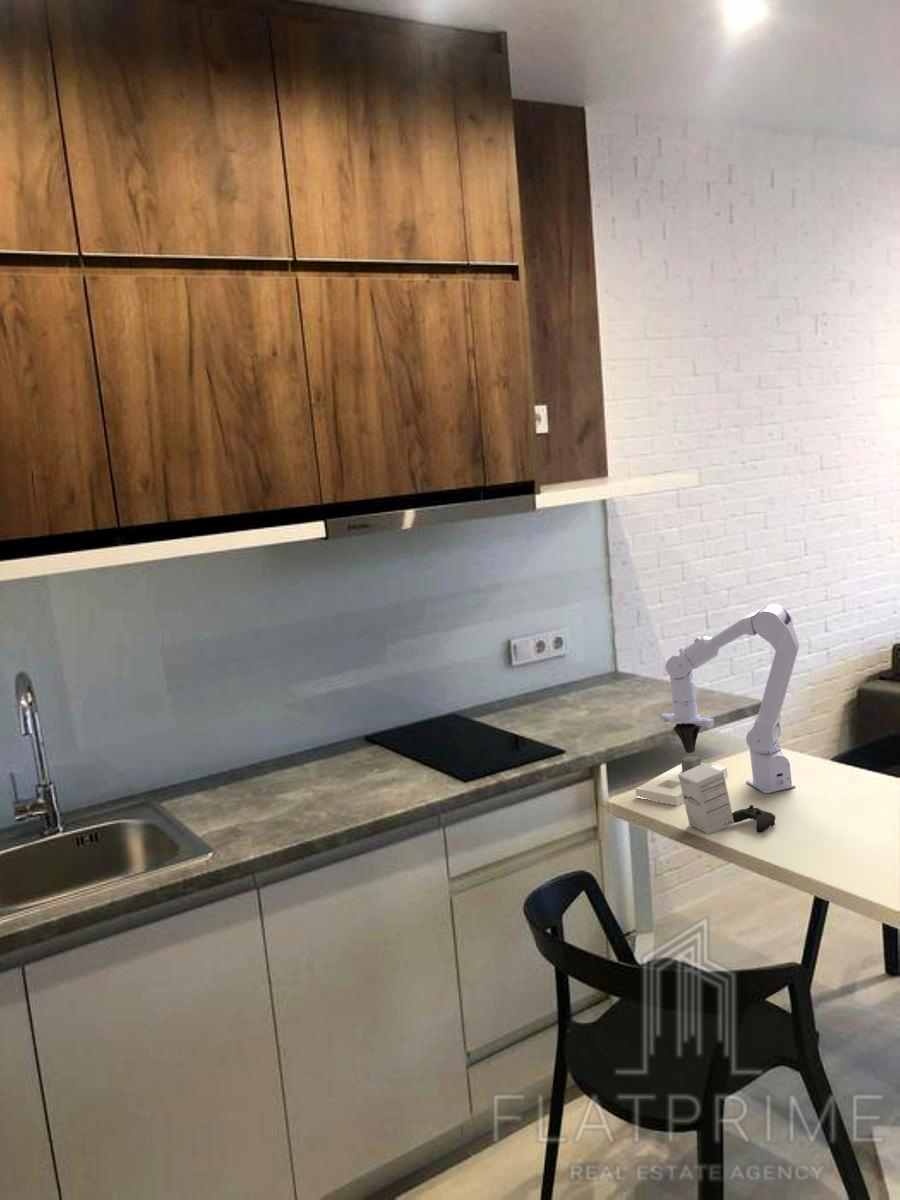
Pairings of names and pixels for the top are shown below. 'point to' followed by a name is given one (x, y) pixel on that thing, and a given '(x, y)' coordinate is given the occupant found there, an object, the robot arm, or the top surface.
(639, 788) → the panel
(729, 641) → the robot arm
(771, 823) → the game controller
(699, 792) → the supplement box
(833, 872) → the top surface
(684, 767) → the plug
